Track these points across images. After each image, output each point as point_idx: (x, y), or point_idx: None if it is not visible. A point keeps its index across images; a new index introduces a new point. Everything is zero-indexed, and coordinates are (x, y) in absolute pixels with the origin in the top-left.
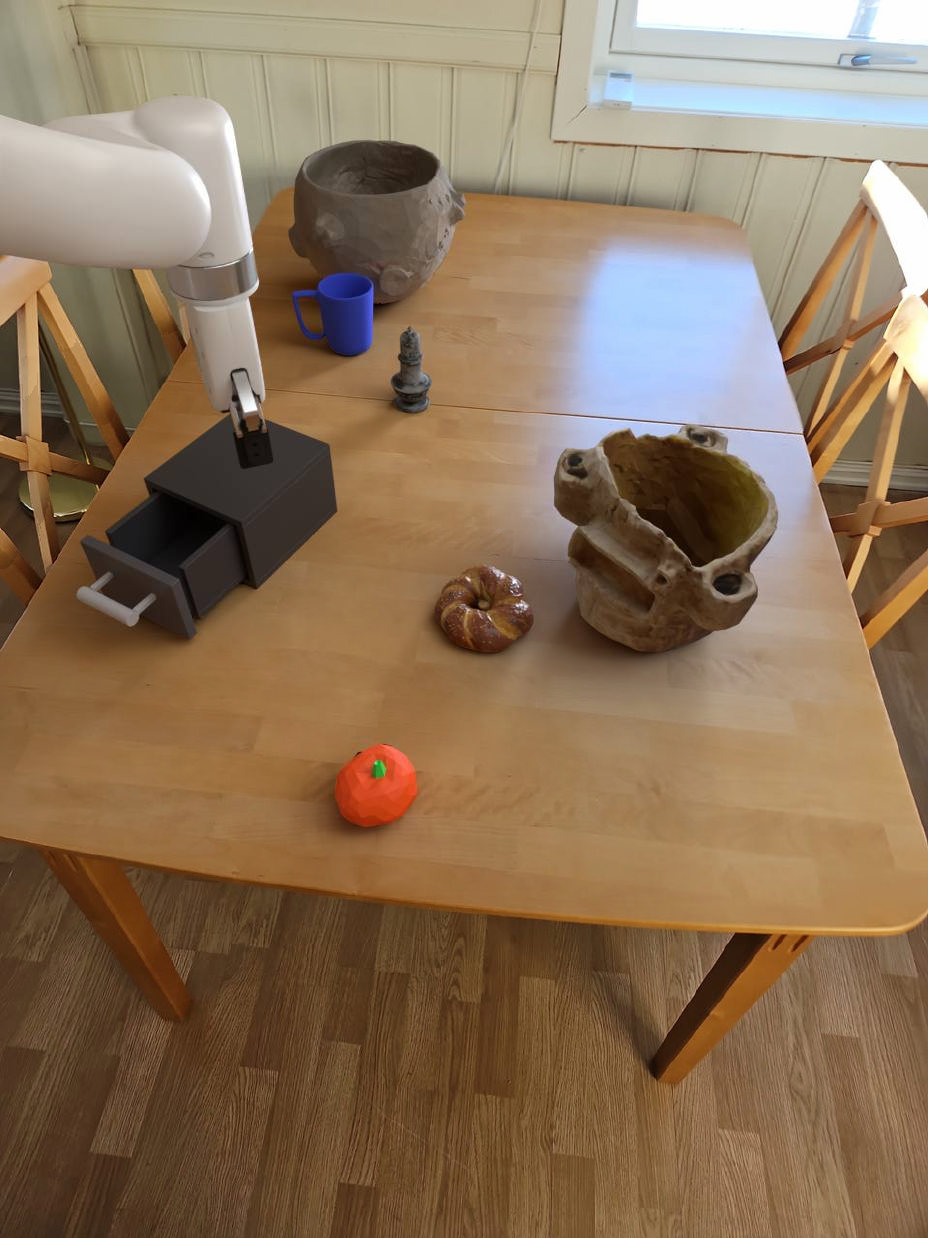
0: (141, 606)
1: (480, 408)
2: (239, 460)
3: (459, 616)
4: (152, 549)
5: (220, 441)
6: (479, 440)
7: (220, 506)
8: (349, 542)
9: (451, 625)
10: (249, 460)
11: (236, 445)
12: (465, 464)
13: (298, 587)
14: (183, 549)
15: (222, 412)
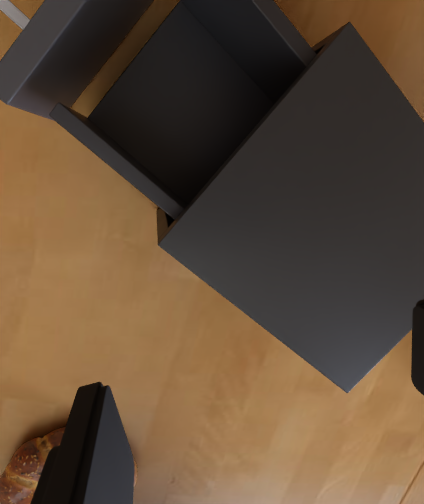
0: (10, 16)
1: (418, 473)
2: (70, 412)
3: (32, 474)
4: (231, 47)
5: (419, 202)
6: (365, 471)
7: (214, 202)
8: (225, 331)
9: (26, 459)
10: (48, 458)
11: (48, 483)
12: (329, 456)
13: (152, 266)
14: (237, 104)
15: (416, 306)
